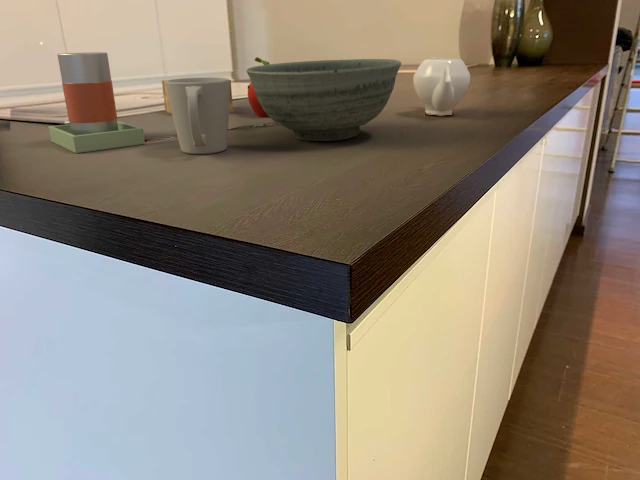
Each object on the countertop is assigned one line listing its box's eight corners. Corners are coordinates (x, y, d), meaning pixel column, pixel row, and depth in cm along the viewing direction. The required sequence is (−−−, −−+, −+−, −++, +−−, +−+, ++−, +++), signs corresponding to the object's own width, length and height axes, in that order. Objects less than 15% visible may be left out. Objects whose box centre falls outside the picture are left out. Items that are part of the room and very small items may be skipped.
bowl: (429, 140, 72) (434, 61, 68) (288, 157, 63) (285, 68, 59) (349, 120, 89) (349, 57, 85) (229, 132, 80) (223, 61, 76)
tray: (51, 141, 75) (48, 126, 74) (115, 133, 80) (113, 119, 80) (76, 153, 67) (73, 136, 66) (145, 143, 72) (143, 128, 72)
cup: (236, 143, 71) (232, 76, 68) (230, 159, 62) (225, 83, 59) (178, 145, 71) (171, 78, 68) (164, 161, 62) (154, 84, 59)
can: (66, 138, 74) (50, 53, 70) (110, 132, 77) (98, 52, 74) (80, 144, 69) (64, 54, 65) (126, 138, 73) (114, 52, 69)
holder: (165, 114, 99) (161, 80, 97) (209, 110, 104) (206, 77, 102) (188, 119, 92) (184, 83, 90) (233, 114, 98) (230, 79, 96)
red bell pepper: (296, 118, 93) (294, 56, 89) (267, 123, 88) (264, 58, 84) (265, 114, 97) (262, 56, 94) (237, 119, 93) (232, 57, 89)
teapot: (415, 123, 85) (418, 61, 82) (408, 107, 104) (411, 56, 101) (476, 123, 84) (482, 61, 81) (459, 107, 103) (463, 56, 100)
